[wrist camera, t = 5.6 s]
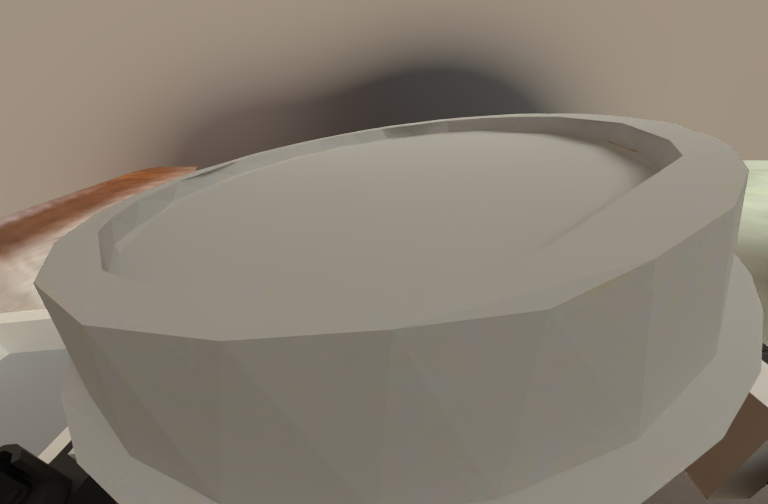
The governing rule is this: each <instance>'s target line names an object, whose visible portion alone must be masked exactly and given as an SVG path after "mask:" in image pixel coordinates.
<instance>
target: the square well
mask: <svg viewBox="0 0 768 504" xmlns="http://www.w3.org/2000/svg"><path fill="white" fill-rule="evenodd" d="M70 359H71V357H70V355H69V353H68V351H67V349H66V347H65V345H64V343H63V341H62V339H61V337H60V335H59V333H58V331H57V329H56V327H55V325H54V323H53V321H52V319H51V317H50V315H49V313H48V311H47V309H36V310H26V311H17V312H7V313H0V447H1V446H3V445H7V444H18V445H20V446H21V447H23V448H24V449H26V450H27V451H29V452H30V453H32V454H33V455H35V456H37V457H38V458H40V459H41V460H43V461H44V462H46V463H47V464H49V463H50V462H51V461H52V460H53V459H54V458H55V457H56V456H57V455H58V454H59V453H60V452H61V450H62V449H63V448H64V447H65V446H66V445H67V444H68V443H69V442H70V441H71V436H70V432H69V428H68V424H67V420H66V416H65V412H64V408H63V404H62V400H61V394H62V390H63V386H64V382H65V378H66V375H67V371H68V367H69V363H70Z"/></svg>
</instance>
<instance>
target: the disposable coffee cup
mask: <svg viewBox="0 0 768 504" xmlns="http://www.w3.org/2000/svg"><path fill="white" fill-rule="evenodd" d="M748 172H749V170H748V168H747V167H746V165H745V164H744V162H743V161H742V159H741V158H740V156H739V155H738V153H737V152H736V151H735V149H734V148H732V147H730V146H729V145H727V144H725V143H723V142H721V141H719V140H718V139H716V138H714V137H712V136H709V135H706V134H703V133H700V132H697V131H694V130H691V129H688V128H685V127H682V126H679V125H676V124H673V123H667V122H660V121H652V120H644V119H636V118H629V117H621V116H608V115H594V114H510V115H494V116H479V117H464V118H453V119H442V120H434V121H426V122H419V123H410V124H402V125H395V126H388V127H382V128H375V129H370V130H364V131H358V132H353V133H347V134H342V135H337V136H331V137H326V138H321V139H316V140H311V141H306V142H302V143H297V144H293V145H289V146H285V147H280V148H276V149H272V150H268V151H264V152H260V153H257V154H252V155H249V156H245V157H242V158H239V159H235V160H232V161H229V162H225V163H222V164H219V165H215V166H212V167H209V168H205V169H202V170H198V171H195V172H192V173H189V174H187V175H184V176H181V177H179V178H176V179H174V180H171V181H168V182H166V183H163V184H161V185H158V186H156V187H153V188H150V189H148V190H145V191H143V192H140V193H138V194H136V195H134V196H131V197H129V198H127V199H125V200H123V201H121V202H119V203H117V204H115V205H113V206H111V207H109V208H106V209H104V210H102V211H100V212H98V213H96V214H95V215H93V216H92V217H90V218H89V219H88V220H86V221H85V222H83V223H82V224H81V225H79V226H78V227H76V228H75V229H73V230H72V231H71V232H69V233H68V234H66V235H65V236H63V237H62V238H61V239H59V240H58V241H56V242H55V243H54V245H53V247H52V249H51V251H50V253H49V255H48V256H47V258H46V260H45V262H44V264H43V266H42V268H41V270H40V272H39V273H38V275H37V277H36V279H35V281H34V285H35V287H36V289H37V291H38V293H39V295H40V297H41V299H42V301H43V303H44V305H45V307H46V309H47V311H48V313H49V315H50V317H51V319H52V321H53V323H54V325H55V327H56V329H57V331H58V333H59V335H60V337H61V339H62V341H63V343H64V345H65V347H66V349H67V351H68V353H69V355H70V357H71V359H70V363H69V367H68V371H67V375H66V378H65V382H64V386H63V390H62V394H61V400H62V404H63V408H64V412H65V416H66V420H67V424H68V428H69V432H70V436H71V440H72V445H73V449H74V453H75V457H76V461H77V464H79V465H80V466H81V467H82V468H83V469H84V470H85V471H86V472H87V473H88V474H89V475H90V476H91V477H92V478H93V479H94V480H95V481H96V482H97V483H98V484H99V485H100V486H101V487H102V488H103V489H104V490H105V491H106V492H107V493H108V494H109V495H110V496H111V497H112V498H113V499H114V500H115V501H116V502H117V503H118V504H641V503H643V502H644V501H645V500H647V499H648V498H649V497H650V496H652V495H653V494H654V493H655V492H657V491H658V490H659V489H660V488H662V487H663V486H664V485H666V484H667V483H668V482H669V481H671V480H672V479H673V478H674V477H676V476H677V475H678V474H680V473H681V472H682V471H683V470H685V469H686V468H687V467H688V466H690V465H691V464H692V463H693V462H695V461H696V460H697V459H698V458H700V457H701V456H702V455H703V454H704V453H706V452H707V451H708V450H709V449H710V448H712V447H713V446H714V445H715V444H717V443H718V442H719V441H720V440H721V439H723V437H724V436H725V434H726V432H727V430H728V429H729V427H730V425H731V423H732V422H733V420H734V418H735V416H736V415H737V413H738V411H739V409H740V408H741V406H742V404H743V402H744V401H745V399H746V397H747V395H748V394H749V392H750V390H751V388H752V387H753V385H754V383H755V381H756V380H757V378H758V376H759V374H760V373H761V363H762V339H763V315H764V310H763V308H762V305H761V302H760V299H759V296H758V293H757V290H756V287H755V284H754V281H753V278H752V275H751V274H750V272H749V271H748V270H747V268H746V267H745V266H744V264H743V263H742V262H741V260H740V259H739V258H738V256H737V255H736V254H735V247H736V241H737V235H738V229H739V224H740V218H741V212H742V207H743V201H744V195H745V189H746V184H747V178H748Z"/></svg>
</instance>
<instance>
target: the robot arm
mask: <svg viewBox="0 0 768 504" xmlns="http://www.w3.org/2000/svg"><path fill="white" fill-rule="evenodd" d="M685 471H686V472H687V473H688V475H689V476H690V477H691V479H692V480H693V481H694V483H695V484H696V485H697V486H698V488H699V489H700V490H701V492H702V493H703V494H704V496H705V497H706V498H707V499H734V498H751V497H752V496H753V495H754V494H756V493H757V492H758V491H759V490H760V489H762V488H763V487H764V486H765V485H766V484H768V346H766V345H765V344H763V343H762V363H761V373H760V374H759V376H758V378H757V380H756V381H755V383H754V385H753V387H752V388H751V390H750V392H749V394H748V395H747V397H746V399H745V401H744V402H743V404H742V406H741V408H740V409H739V411H738V413H737V415H736V416H735V418H734V420H733V422H732V423H731V425H730V427H729V429H728V430H727V432H726V434H725V436H724V437H723V439H721V440H720V441H719V442H718V443H717V444H715V445H714V446H713V447H712V448H710V449H709V450H708V451H707V452H706V453H704V454H703V455H702V456H701V457H700V458H698V459H697V460H696V461H695V462H693V463H692V464H691V465H690V466H688V467H687V468H686V469H685ZM0 504H118V503H117V502H116V501H115V500H114V499H113V498H112V497H111V496H110V495H109V494H108V493H107V492H106V491H105V490H104V489H103V488H102V487H101V486H100V485H99V484H98V483H97V482H96V481H95V480H94V479H93V478H92V477H91V476H90V475H89V474H88V473H87V472H86V471H85V470H84V469H83V468H82V467H81V466H80V465H79V464H77V461H76V457H75V453H74V449H73V445H72V440H71V441H70V442H69V443H68V444H67V445H66V446H65V447H64V448H63V449H62V450H61V452H60V453H59V454H58V455H57V456H56V457H55V458H54V459H53V460H52V461H51V462H50V463H49V464H47V463H46V462H44V461H43V460H41V459H40V458H38V457H37V456H35V455H33V454H32V453H30V452H29V451H27V450H26V449H24V448H23V447H21V446H20V445H18V444H7V445H3V446H1V447H0Z"/></svg>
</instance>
